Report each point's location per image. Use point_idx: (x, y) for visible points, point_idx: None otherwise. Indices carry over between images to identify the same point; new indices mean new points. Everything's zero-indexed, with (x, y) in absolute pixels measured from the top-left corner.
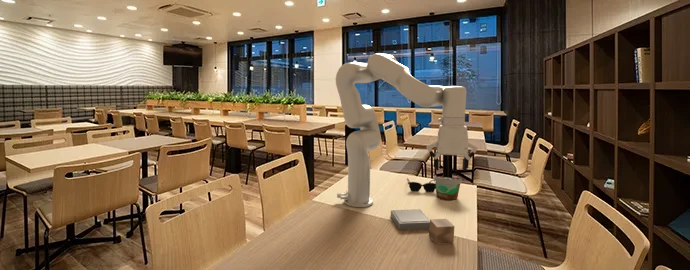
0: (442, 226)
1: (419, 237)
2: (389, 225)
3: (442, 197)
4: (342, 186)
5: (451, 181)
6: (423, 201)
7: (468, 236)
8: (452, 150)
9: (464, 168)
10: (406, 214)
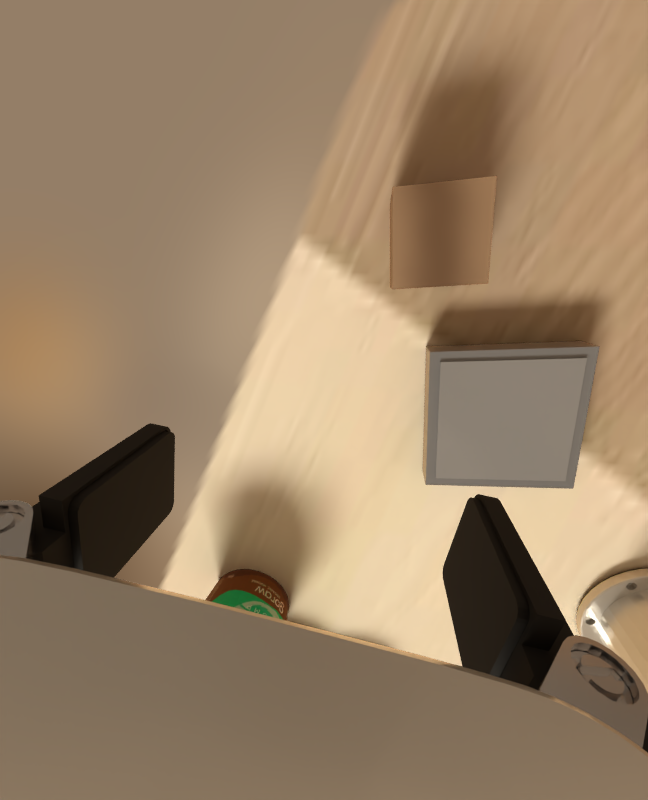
0: (461, 184)
1: (519, 265)
2: (606, 390)
3: (274, 589)
4: None
5: None
6: (355, 581)
7: (300, 266)
8: (244, 775)
9: (159, 448)
10: (519, 435)
